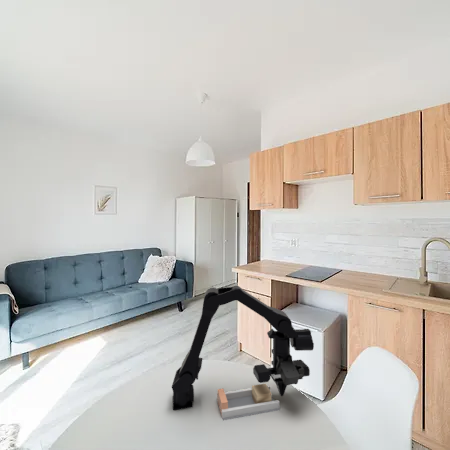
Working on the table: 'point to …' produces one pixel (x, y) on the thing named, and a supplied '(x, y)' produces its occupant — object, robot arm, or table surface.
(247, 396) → the channel
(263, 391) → the tan block
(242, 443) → the table surface
